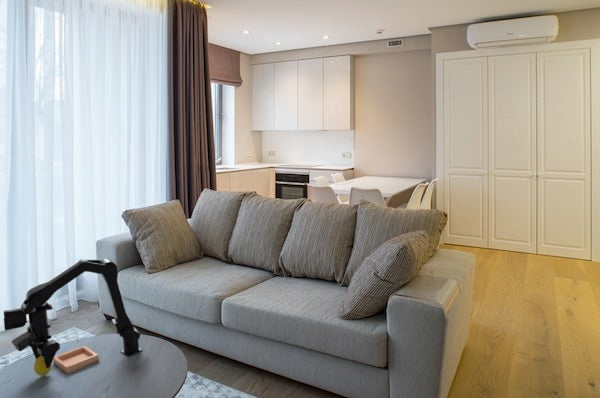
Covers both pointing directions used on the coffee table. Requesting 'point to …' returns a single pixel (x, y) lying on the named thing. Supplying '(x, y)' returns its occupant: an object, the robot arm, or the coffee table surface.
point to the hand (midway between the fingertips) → (42, 363)
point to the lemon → (41, 367)
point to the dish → (75, 359)
